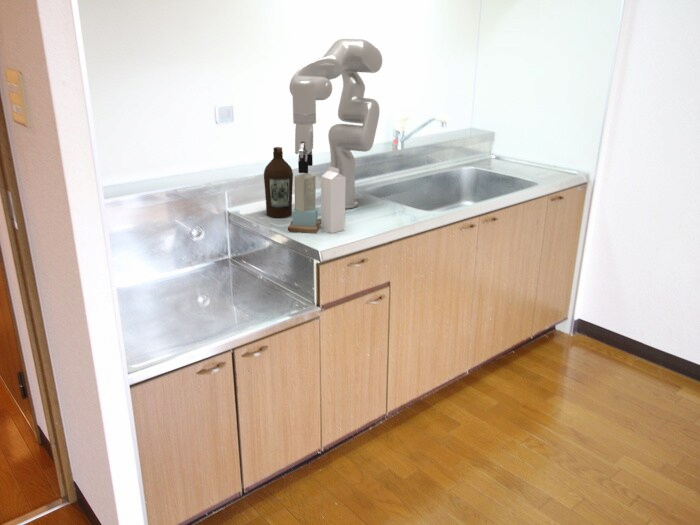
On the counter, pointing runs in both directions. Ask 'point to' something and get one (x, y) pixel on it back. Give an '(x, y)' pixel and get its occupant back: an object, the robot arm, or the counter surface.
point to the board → (304, 228)
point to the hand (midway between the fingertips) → (305, 169)
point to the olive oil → (278, 186)
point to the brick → (305, 217)
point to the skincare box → (305, 192)
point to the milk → (333, 201)
